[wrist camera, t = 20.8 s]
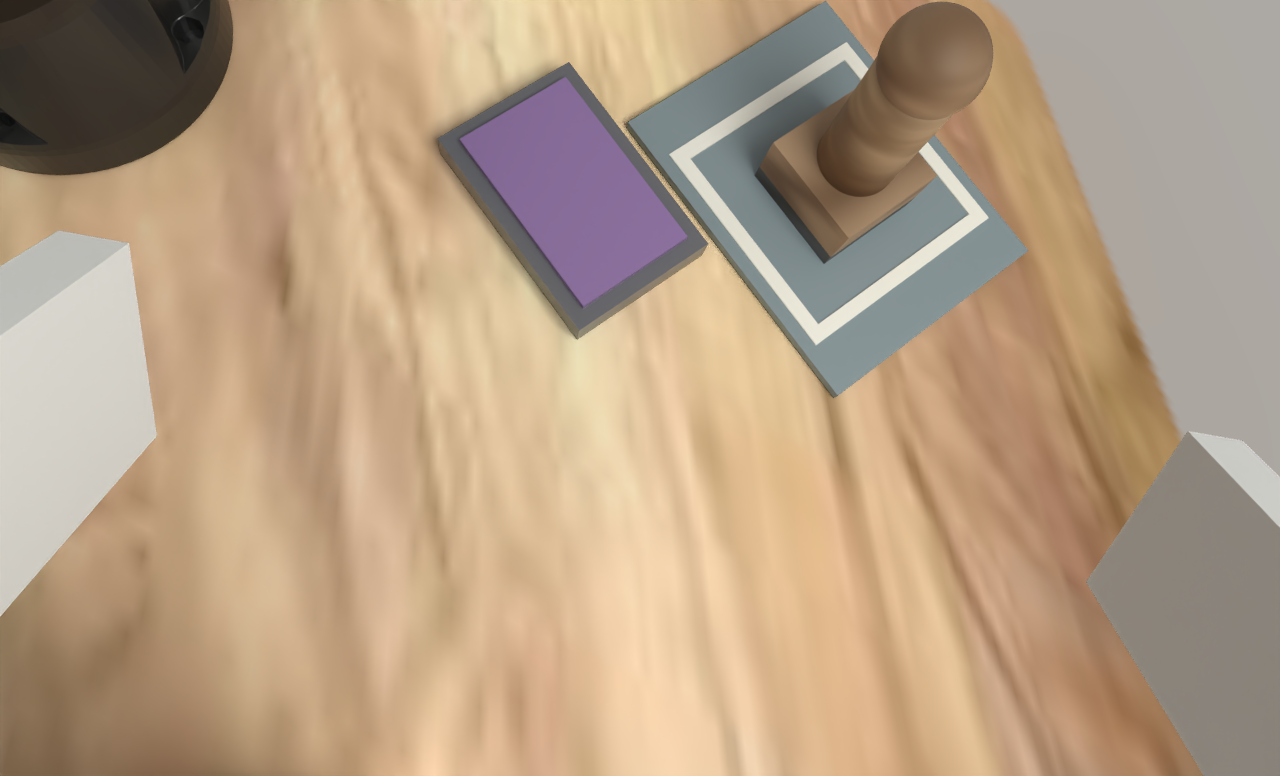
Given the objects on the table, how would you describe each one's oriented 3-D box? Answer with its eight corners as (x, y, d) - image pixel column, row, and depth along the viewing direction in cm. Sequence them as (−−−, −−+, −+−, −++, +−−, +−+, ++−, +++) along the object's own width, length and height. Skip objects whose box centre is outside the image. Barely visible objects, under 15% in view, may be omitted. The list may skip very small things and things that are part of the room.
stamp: (754, 175, 44) (852, 3, 30) (838, 119, 45) (967, -68, 32) (823, 264, 43) (954, 129, 30) (906, 205, 45) (1067, 51, 31)
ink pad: (440, 154, 42) (436, 134, 41) (567, 79, 44) (569, 57, 42) (577, 339, 41) (579, 328, 39) (701, 255, 43) (709, 240, 41)
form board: (626, 128, 44) (628, 121, 43) (821, 7, 47) (826, -1, 47) (833, 397, 42) (838, 395, 42) (1022, 254, 46) (1029, 249, 45)
